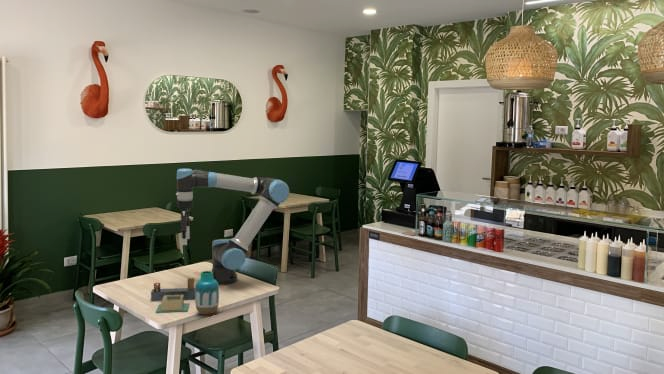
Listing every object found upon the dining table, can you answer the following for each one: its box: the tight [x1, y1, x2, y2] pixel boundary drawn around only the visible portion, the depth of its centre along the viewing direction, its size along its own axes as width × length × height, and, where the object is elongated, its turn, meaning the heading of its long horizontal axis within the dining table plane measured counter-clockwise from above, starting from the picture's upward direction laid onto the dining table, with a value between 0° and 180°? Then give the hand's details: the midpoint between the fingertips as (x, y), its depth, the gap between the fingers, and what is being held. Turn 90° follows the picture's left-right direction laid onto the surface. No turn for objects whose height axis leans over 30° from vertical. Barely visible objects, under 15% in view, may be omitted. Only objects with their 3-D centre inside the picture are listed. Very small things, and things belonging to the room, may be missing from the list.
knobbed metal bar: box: [150, 277, 195, 302], centre depth 260 cm, size 21×5×10 cm, turn 100°
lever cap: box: [160, 295, 185, 311], centre depth 247 cm, size 9×8×5 cm
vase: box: [194, 270, 220, 315], centre depth 241 cm, size 11×11×19 cm
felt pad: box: [155, 302, 190, 314], centre depth 247 cm, size 14×10×1 cm
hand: (185, 241), depth 266 cm, fingers open, 13 cm apart
